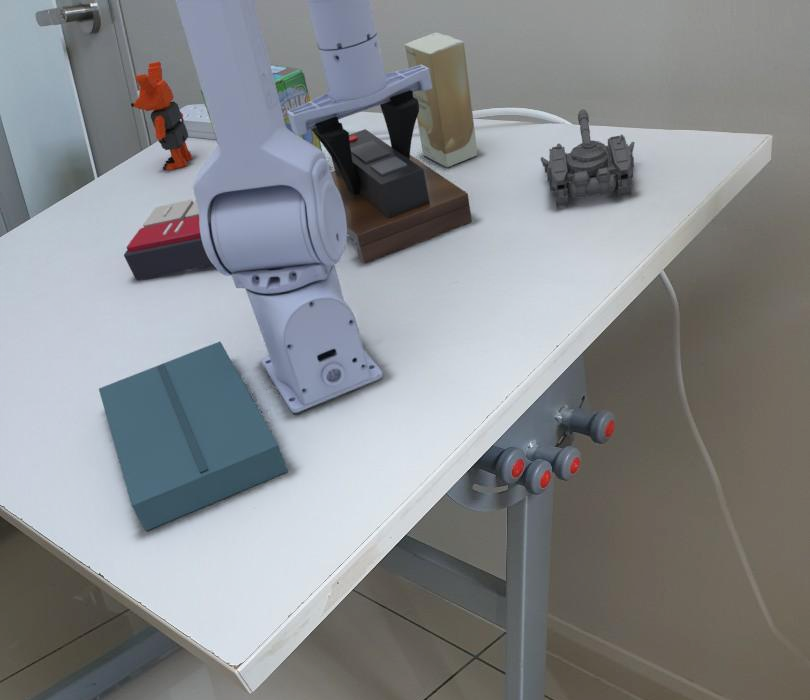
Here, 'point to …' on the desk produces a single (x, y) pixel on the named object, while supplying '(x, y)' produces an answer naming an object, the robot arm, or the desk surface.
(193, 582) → the desk surface
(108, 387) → the teal grooved block
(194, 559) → the desk surface
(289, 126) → the chalk box
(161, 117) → the toy animal
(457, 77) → the cosmetic box
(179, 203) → the calculator
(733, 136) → the desk surface
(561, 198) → the tank toy
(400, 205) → the remote
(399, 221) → the wooden keepsake box
